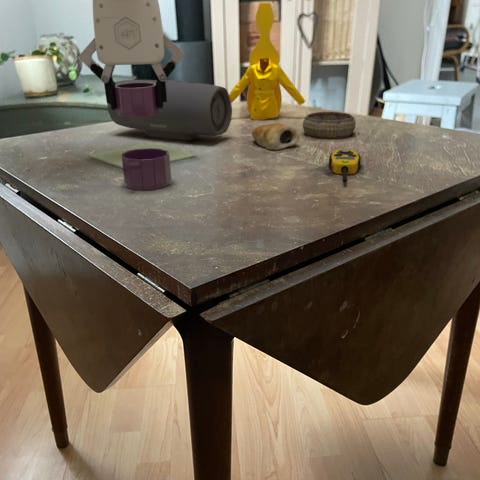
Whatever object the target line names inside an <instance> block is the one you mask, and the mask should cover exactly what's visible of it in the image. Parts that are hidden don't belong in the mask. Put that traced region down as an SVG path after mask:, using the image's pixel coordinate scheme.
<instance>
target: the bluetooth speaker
mask: <svg viewBox="0 0 480 480" xmlns="http://www.w3.org/2000/svg"><path fill="white" fill-rule="evenodd" d="M156 81H157V79H125V80H117V81H114V82H115V85H118V84H125V83H138V82H145V83H155V84H156ZM165 81H166V93H167V102H163V108H160V109H159V113H157V114H155V115H150V116H143V117H124V116H120V115H118V111H117V109H115V110H111V104H107V111H108V115H109V117H110V119H111V121H113V122H114V124H116V125H118V126H121V127H124V128H129V129H134V130H139V131H144V132H145V133H146V136H147V137H153V138H160V139H161V138H162V139H171V140H178V141H179V140H180V141H181V140H182V141H192V140H195V139H196V138H197V136H199V137H200V136H202V137H203V136H205V137H214V136H222V135H224V134H225V133H226V132H227V131H228V129H229V127H230V126H231V122H232V116H233V106H232V103H231V100H230V96H229V94H230V93H229V91H228V89H227V88H226V87H224V86H220V85H215V84H209V83H199V82H194V81H180V80H171V79H166V80H165Z"/></svg>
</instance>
